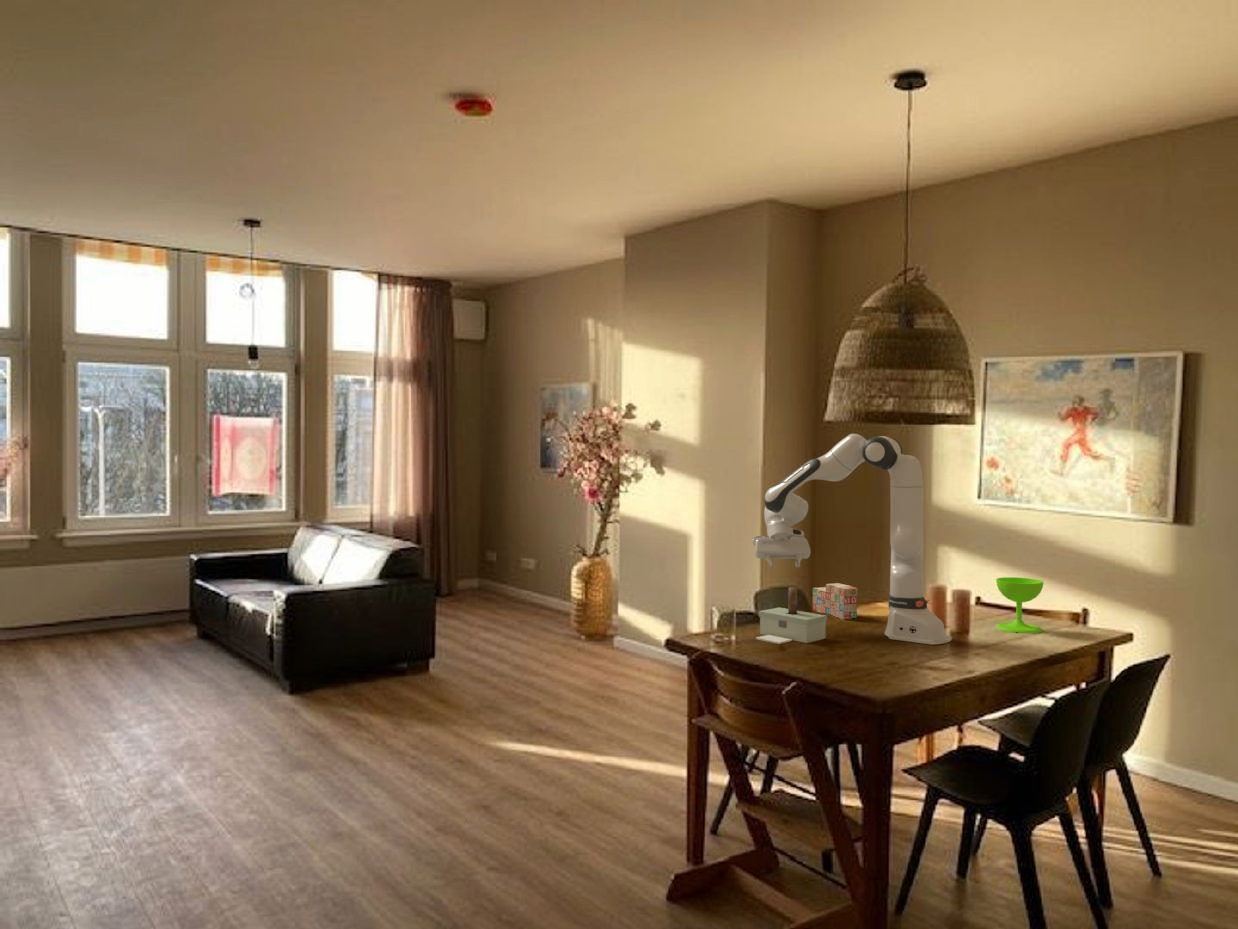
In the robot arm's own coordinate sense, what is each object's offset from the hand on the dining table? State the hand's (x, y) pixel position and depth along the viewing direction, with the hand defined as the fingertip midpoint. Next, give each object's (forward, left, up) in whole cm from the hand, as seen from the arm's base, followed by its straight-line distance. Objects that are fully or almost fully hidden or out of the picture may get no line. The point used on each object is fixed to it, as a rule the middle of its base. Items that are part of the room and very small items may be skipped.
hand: (785, 566), depth 332 cm
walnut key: (-10, +8, -17) cm, 21 cm away
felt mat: (-10, +18, -23) cm, 31 cm away
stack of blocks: (+5, -38, -23) cm, 45 cm away
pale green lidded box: (-10, +8, -23) cm, 26 cm away
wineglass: (-57, -66, -23) cm, 90 cm away
